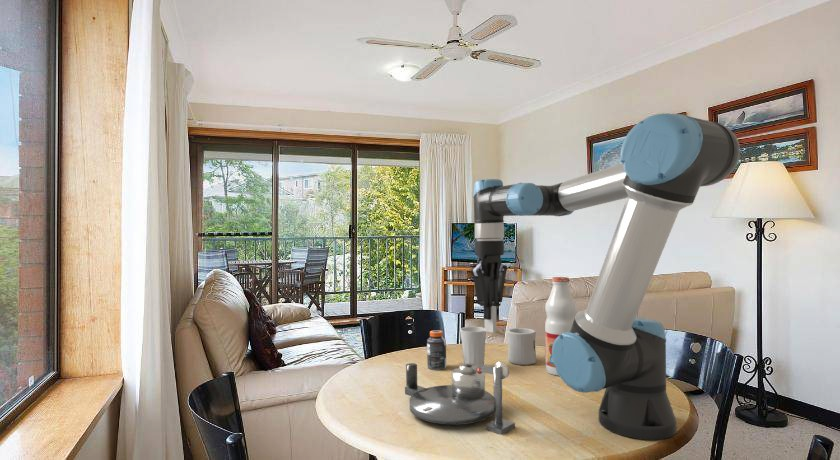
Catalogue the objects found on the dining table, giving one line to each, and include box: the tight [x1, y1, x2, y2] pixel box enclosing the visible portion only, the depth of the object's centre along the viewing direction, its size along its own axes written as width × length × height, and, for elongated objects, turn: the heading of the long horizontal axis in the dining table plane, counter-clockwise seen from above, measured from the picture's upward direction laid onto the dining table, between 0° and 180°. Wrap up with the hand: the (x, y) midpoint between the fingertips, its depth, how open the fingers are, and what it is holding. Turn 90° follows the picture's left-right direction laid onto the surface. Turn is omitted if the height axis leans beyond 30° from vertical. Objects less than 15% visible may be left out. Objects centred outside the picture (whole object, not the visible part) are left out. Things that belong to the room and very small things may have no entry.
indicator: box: [477, 361, 516, 436], centre depth 102 cm, size 8×5×14 cm, turn 45°
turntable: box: [404, 362, 494, 425], centre depth 112 cm, size 25×20×7 cm
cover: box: [451, 362, 486, 398], centre depth 114 cm, size 8×8×7 cm
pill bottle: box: [426, 329, 447, 371], centre depth 146 cm, size 6×6×11 cm
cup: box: [459, 326, 487, 368], centre depth 145 cm, size 8×8×12 cm
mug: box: [507, 327, 537, 366], centre depth 153 cm, size 12×9×10 cm
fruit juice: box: [544, 276, 578, 377], centre depth 139 cm, size 9×9×28 cm
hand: (490, 331), depth 121 cm, fingers closed
